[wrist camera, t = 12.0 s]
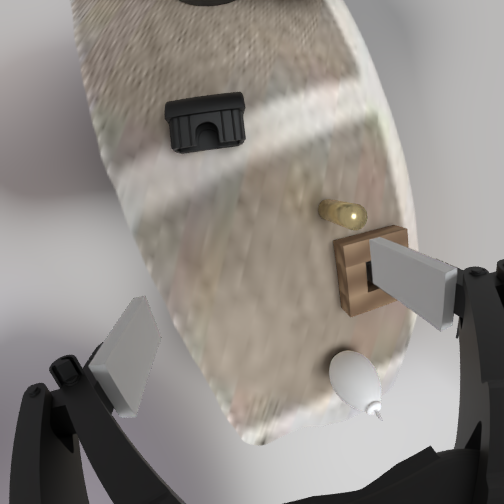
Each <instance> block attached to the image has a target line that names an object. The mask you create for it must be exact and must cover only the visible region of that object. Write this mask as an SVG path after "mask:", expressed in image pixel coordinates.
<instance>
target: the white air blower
mask: <svg viewBox="0 0 504 504" xmlns="http://www.w3.org/2000/svg"><path fill="white" fill-rule="evenodd" d="M329 377H330V382H331V385H332V387H333V389H334V391H335V392H336V394H337V395H338V396H339V397H340V399H341V400H342V401H344V402H345V403H346V404H347V405H349V406H350V407H352V408H354V409H356V410H358V411H362V412H366V413H367V414H368V415H373V414H376V415H377V416H378V418H379V419H380V420H381V421H382V418H381V416H380V414H379V412H378V411H379V410H380V409H381V406H382V405H381V402H380V401H381V394H382V392H381V383H380V379H379V376H378V373H377V371H376V369H375V367H374V366H373V364H372V363H371V362H370V360H369V359H368V358H367V357H365V356H364V355H362V354H361V353H358V352H355V351H349V350H348V351H342V352H340V353H338V354H337V355H335V356H334V357H333V359H332V361H331V363H330V368H329Z"/></svg>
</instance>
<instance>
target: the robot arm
mask: <svg viewBox="0 0 504 504" xmlns="http://www.w3.org/2000/svg"><path fill="white" fill-rule="evenodd" d="M180 1H182V2H185V3H188V4H192V5H201V6H211V5H220V4H225V3H229V2H232V1H235V0H180ZM369 243H370V253H371V264H372V277H373V283H374V284H375V285H377V286H378V287H380V288H381V289H383V290H384V291H385V292H387V293H388V294H390V295H391V296H392V297H394V298H395V299H397V300H398V301H400V302H401V303H402V304H404V305H405V306H406V307H408V308H409V309H411V310H412V311H413V312H415V313H416V314H418V315H419V316H420V317H422V318H423V319H425V320H426V321H427V322H429V323H430V324H431V325H432V326H434V327H435V328H436V329H438V330H439V331H443V330H445V329H447V328H448V327H450V326H452V324H453V316H454V313H455V314H456V315H458V316H459V323H458V328H457V335H456V338H458V337H459V342H460V406H459V419H458V430H457V437H456V443H455V447H454V449H452V450H446V451H442V452H438V453H436V452H435V451H434V450H433V448H432V447H431V446H429V447H427V448H426V449H424V450H422V451H420V452H419V453H417V454H415V455H413V456H411V457H409V458H408V459H406V460H404V461H402V462H400V463H398V464H396V465H395V466H394V467H393V468H391V469H390V470H388V471H387V472H386V473H384V474H383V475H382V476H380V477H379V478H378V479H376V480H375V481H373V482H372V483H370V484H369V485H367V486H366V487H364V488H363V489H360V490H357V491H352V492H345V493H338V494H330V495H321V496H312V497H308V498H305V499H301V500H297V501H293V502H289V503H284V504H504V259H503V260H500V261H498V262H497V269H496V272H493V273H489V272H488V271H487V270H486V269H485V268H481V267H469V268H466V269H465V270H461V269H459V268H457V267H454V266H452V265H449V264H447V263H444V262H443V261H440V260H438V259H435V258H432V257H430V256H427V255H425V254H422V253H420V252H417V251H415V250H412V249H410V248H407V247H405V246H402V245H400V244H397V243H394V242H392V241H389V240H387V239H384V238H381V237H378V238H374V239H370V240H369ZM160 341H161V335H160V332H159V330H158V327H157V325H156V322H155V320H154V317H153V315H152V312H151V310H150V307H149V304H148V301H147V299H146V296H142V297H137V298H133V300H132V301H131V303H130V304H129V305H128V307H127V309H126V310H125V311H124V313H123V314H122V316H121V317H120V319H119V320H118V322H117V323H116V324H115V326H114V327H113V329H112V330H111V332H110V333H109V335H108V336H107V338H106V339H105V341H104V342H102V343H101V344H100V345H99V346H98V347H97V348H96V349H95V350H94V352H93V353H92V355H91V356H90V358H89V360H88V361H87V362H86V364H85V366H84V367H83V369H82V367H81V366H80V363H79V362H78V360H77V358H76V357H75V356H74V355H66V356H63V357H60V358H59V359H57V360H56V361H54V362H53V363H52V364H51V366H50V368H49V371H50V373H51V374H52V376H53V378H54V379H55V381H56V383H57V384H58V386H59V387H60V389H58V390H54V391H51V392H50V391H49V390H48V388H47V387H46V385H45V384H44V383H38V384H34V385H31V386H30V387H28V388H27V390H26V391H25V393H24V395H23V398H22V402H21V407H20V412H19V416H18V421H17V427H16V433H15V438H14V446H13V453H12V461H11V473H10V493H9V494H10V497H9V504H89V500H88V496H87V491H86V486H85V481H84V475H83V469H82V462H81V456H80V447H79V440H80V442H81V444H82V446H83V448H84V450H85V453H86V455H87V457H88V459H89V461H90V463H91V465H92V467H93V469H94V470H95V472H96V474H97V476H98V478H99V480H100V481H101V483H102V485H103V487H104V488H105V490H106V492H107V493H108V495H109V497H110V498H111V500H112V501H113V503H114V504H186V503H185V502H184V501H183V500H182V499H181V498H180V497H179V496H178V495H177V494H176V493H175V492H174V491H173V490H172V489H171V488H170V487H169V486H168V485H167V484H166V483H165V482H164V481H163V480H162V478H160V476H159V475H158V474H157V473H156V472H155V471H154V470H153V468H152V467H151V466H150V465H149V464H148V462H147V461H146V460H145V459H144V458H143V456H142V455H141V454H140V453H139V451H138V450H137V449H136V448H135V446H134V445H133V444H132V443H131V441H130V440H129V439H128V437H127V436H126V434H125V433H124V432H123V431H122V429H121V427H120V426H119V425H118V423H117V422H116V420H115V419H114V417H113V416H112V415H111V414H112V412H113V409H115V410H116V412H117V413H118V415H119V416H120V417H121V418H122V417H123V418H125V417H136V416H137V413H138V409H139V406H140V403H141V399H142V396H143V393H144V389H145V386H146V383H147V380H148V377H149V374H150V371H151V368H152V364H153V361H154V358H155V355H156V352H157V349H158V346H159V343H160Z"/></svg>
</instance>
